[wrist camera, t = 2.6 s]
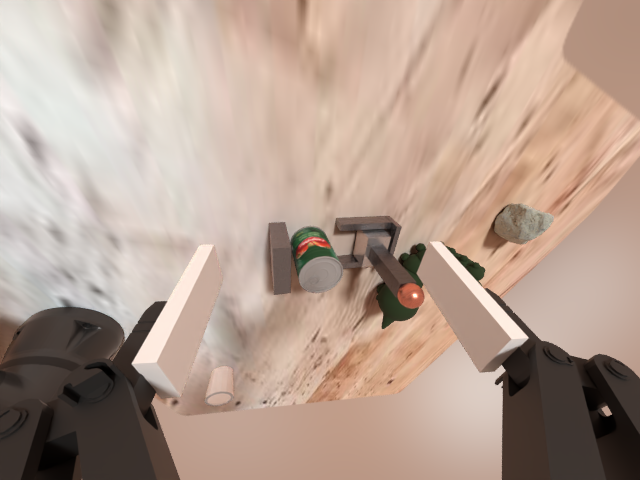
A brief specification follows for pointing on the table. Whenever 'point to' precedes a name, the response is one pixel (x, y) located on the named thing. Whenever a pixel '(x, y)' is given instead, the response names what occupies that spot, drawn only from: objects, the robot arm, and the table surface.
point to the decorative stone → (521, 223)
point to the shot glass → (220, 387)
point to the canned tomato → (315, 260)
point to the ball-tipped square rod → (387, 266)
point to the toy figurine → (411, 264)
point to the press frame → (282, 256)
